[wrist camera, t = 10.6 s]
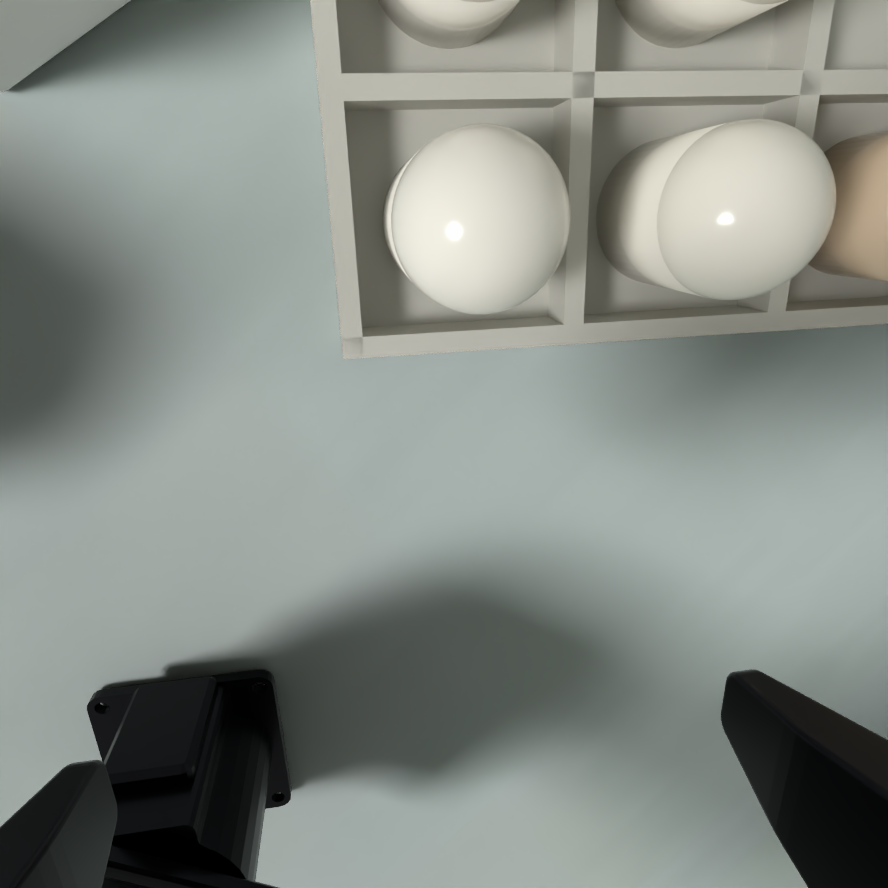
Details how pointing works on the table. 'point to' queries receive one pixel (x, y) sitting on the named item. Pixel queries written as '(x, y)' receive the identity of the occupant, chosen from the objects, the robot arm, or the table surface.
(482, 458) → the table surface
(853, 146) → the brown egg
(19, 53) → the medicine bottle
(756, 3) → the egg
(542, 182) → the egg
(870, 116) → the carton
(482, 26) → the egg
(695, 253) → the egg
